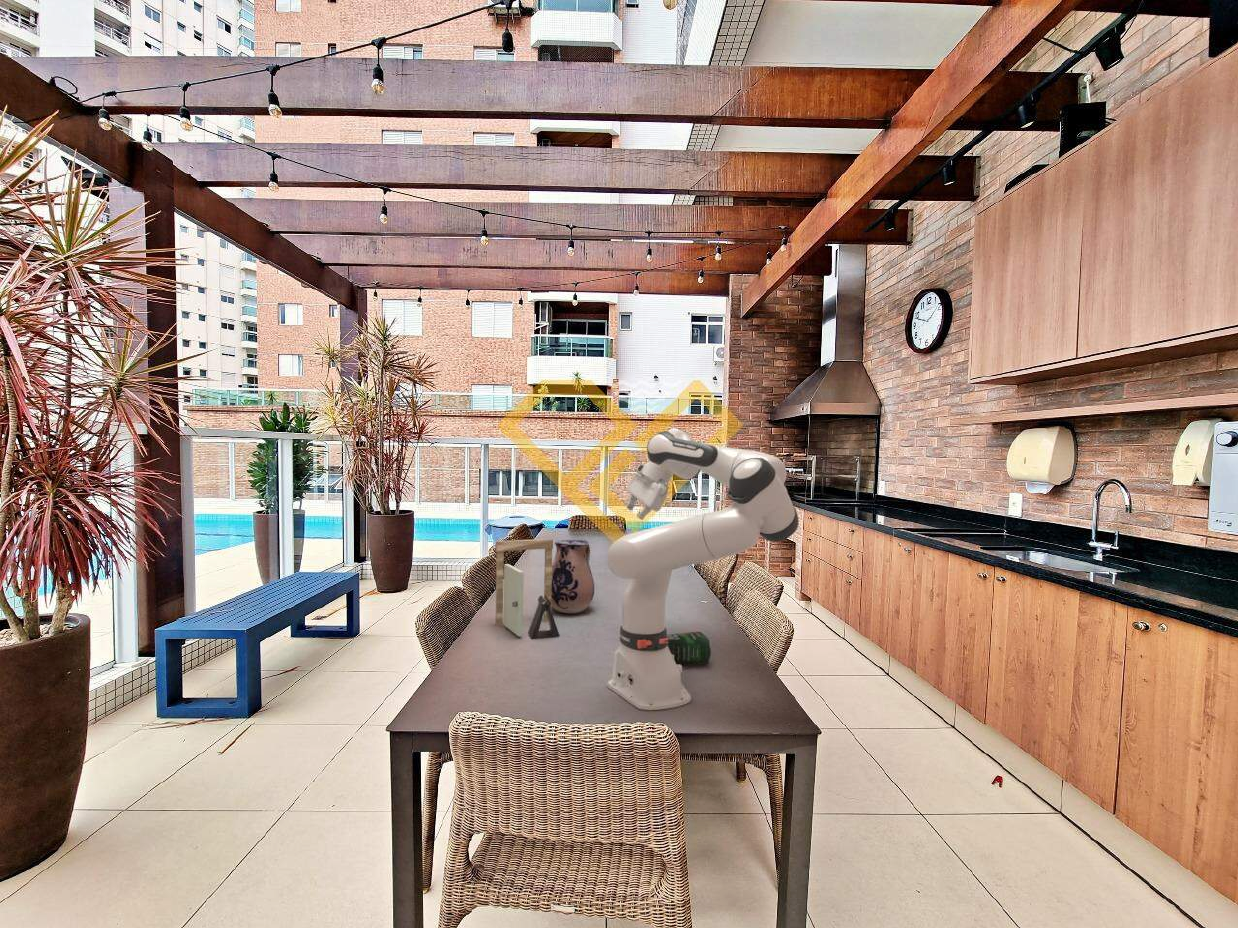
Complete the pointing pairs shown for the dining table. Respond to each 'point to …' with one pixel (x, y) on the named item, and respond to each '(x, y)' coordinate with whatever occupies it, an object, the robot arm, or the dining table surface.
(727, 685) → the dining table surface
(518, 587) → the door
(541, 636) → the phone stand
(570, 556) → the ceramic pitcher
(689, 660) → the coffee jar
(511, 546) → the door frame
